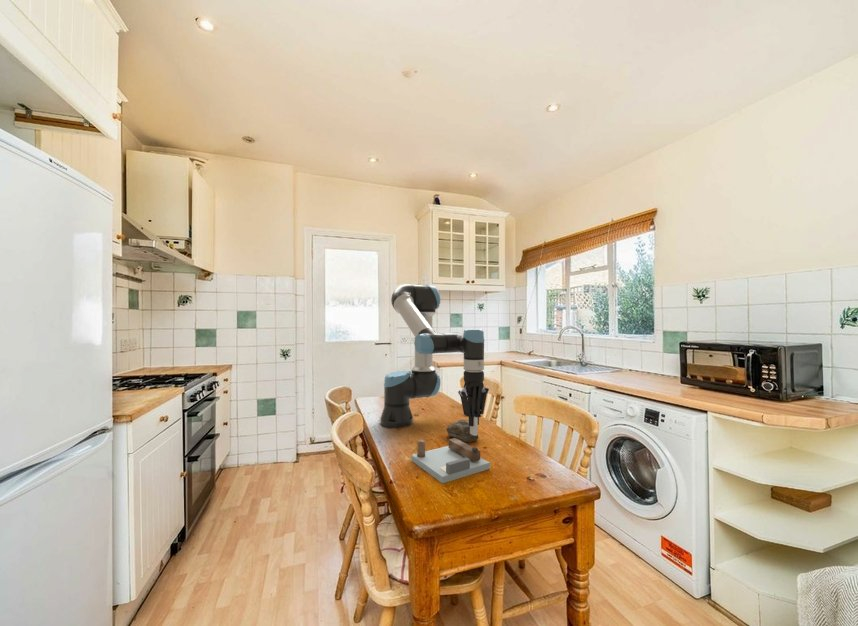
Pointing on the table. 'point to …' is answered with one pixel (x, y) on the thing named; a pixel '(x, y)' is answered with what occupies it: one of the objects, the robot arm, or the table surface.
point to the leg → (464, 449)
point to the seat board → (442, 460)
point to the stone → (461, 431)
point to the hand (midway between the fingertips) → (473, 434)
